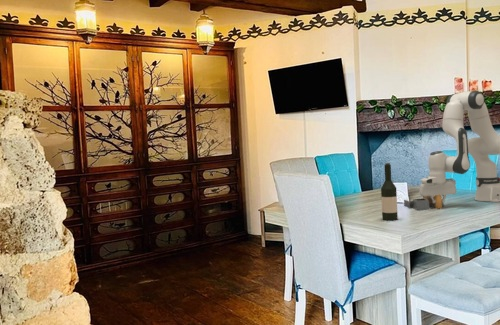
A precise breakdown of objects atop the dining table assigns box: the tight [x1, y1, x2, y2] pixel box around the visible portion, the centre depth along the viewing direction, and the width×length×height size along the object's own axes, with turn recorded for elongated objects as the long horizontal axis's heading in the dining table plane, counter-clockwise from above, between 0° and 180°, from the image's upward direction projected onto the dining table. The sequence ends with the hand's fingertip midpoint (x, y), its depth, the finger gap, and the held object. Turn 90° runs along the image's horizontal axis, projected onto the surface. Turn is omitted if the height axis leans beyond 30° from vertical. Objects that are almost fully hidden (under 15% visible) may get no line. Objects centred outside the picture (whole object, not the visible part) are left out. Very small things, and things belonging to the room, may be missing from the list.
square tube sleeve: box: [412, 198, 430, 211], centre depth 257 cm, size 7×7×6 cm
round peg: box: [434, 194, 443, 210], centre depth 256 cm, size 4×4×9 cm
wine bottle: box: [380, 162, 399, 222], centre depth 233 cm, size 8×8×30 cm
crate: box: [422, 195, 435, 203], centre depth 266 cm, size 6×6×5 cm
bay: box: [403, 199, 445, 209], centre depth 266 cm, size 20×10×4 cm, turn 89°
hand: (438, 202), depth 256 cm, fingers closed on round peg, 4 cm apart
